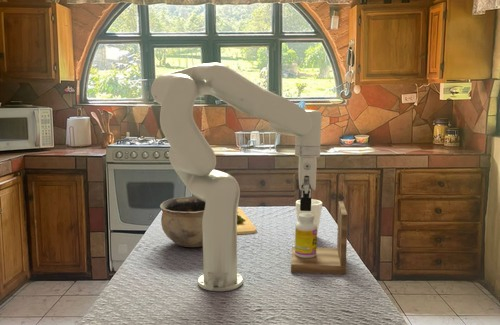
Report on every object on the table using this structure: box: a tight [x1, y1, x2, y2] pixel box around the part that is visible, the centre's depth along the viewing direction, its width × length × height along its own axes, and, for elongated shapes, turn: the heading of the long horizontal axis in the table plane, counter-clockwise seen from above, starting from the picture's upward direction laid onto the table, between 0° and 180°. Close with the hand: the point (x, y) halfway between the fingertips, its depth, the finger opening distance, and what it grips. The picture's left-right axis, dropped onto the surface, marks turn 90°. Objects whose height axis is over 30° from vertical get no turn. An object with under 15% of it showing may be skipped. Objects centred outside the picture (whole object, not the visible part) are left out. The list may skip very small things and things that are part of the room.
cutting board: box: [237, 207, 258, 236], centre depth 203 cm, size 35×23×8 cm
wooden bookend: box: [290, 200, 348, 275], centre depth 156 cm, size 16×16×18 cm
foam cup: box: [295, 198, 323, 236], centre depth 183 cm, size 10×9×13 cm
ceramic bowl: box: [159, 195, 205, 248], centre depth 175 cm, size 22×22×15 cm
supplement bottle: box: [294, 213, 318, 258], centre depth 156 cm, size 7×7×13 cm
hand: (305, 206), depth 154 cm, fingers open, 9 cm apart
